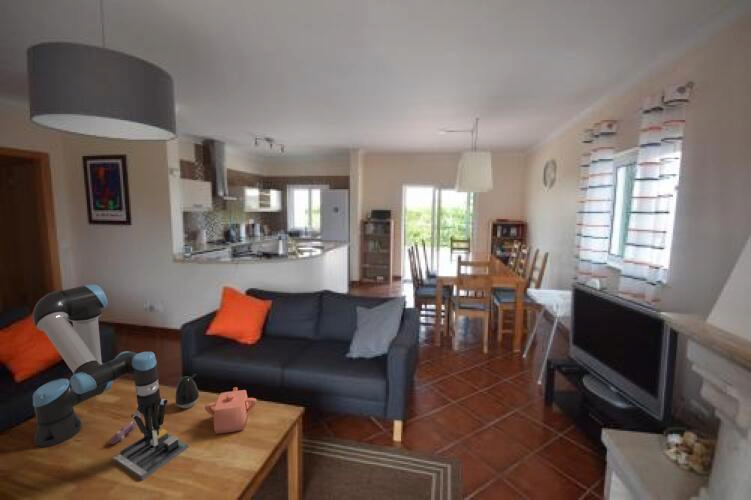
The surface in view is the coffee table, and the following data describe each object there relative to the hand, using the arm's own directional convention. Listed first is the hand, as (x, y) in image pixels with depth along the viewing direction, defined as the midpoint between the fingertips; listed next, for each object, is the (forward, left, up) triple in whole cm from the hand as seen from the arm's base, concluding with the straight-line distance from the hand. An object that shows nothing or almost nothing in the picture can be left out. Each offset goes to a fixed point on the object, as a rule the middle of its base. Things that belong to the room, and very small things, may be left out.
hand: (154, 444), depth 137 cm
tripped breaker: (0, +3, -2) cm, 3 cm away
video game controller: (-20, -1, -4) cm, 21 cm away
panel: (0, -1, -3) cm, 4 cm away
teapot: (+12, +29, -4) cm, 31 cm away
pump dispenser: (-17, +26, -4) cm, 31 cm away
